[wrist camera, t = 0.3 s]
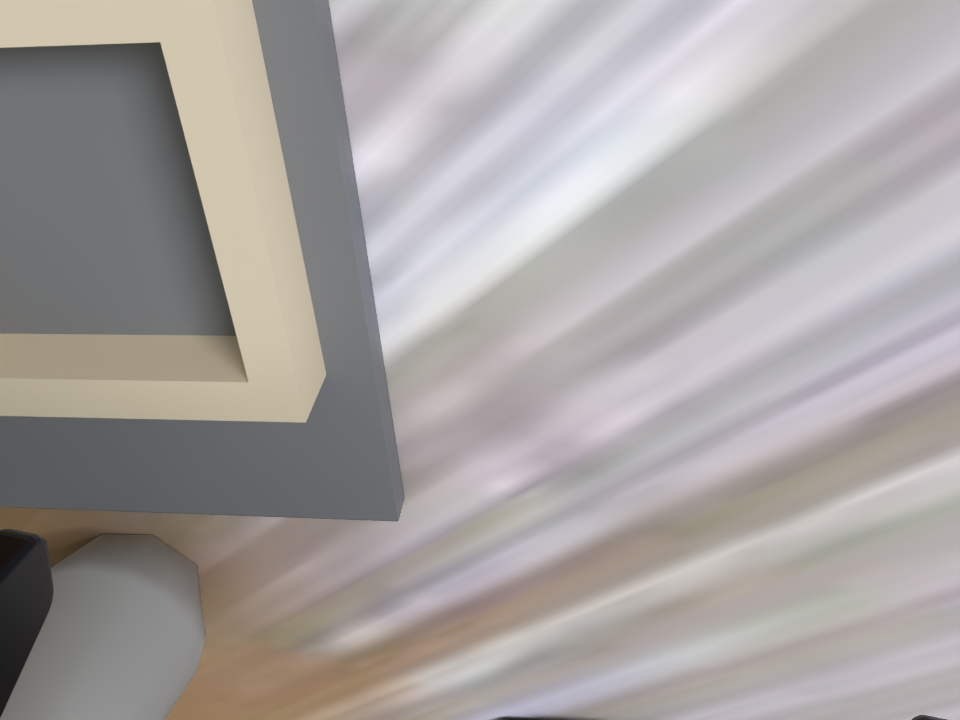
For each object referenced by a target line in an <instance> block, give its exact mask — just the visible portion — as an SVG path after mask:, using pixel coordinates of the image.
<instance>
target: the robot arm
mask: <svg viewBox="0 0 960 720" xmlns="http://www.w3.org/2000/svg"><path fill="white" fill-rule="evenodd" d="M53 594H54V585H53V579H52V573H51V566H50V560H49V554H48V547H47V543H46V541H45V540H44V538H43V537H42V536H40V535H37V534H33V533H28V532H23V531H18V530H13V529H3V530H0V718H1V716H2V714H3V711H4V709H5V707H6V705H7V703H8V700H9V698H10V696H11V694H12V692H13V690H14V687H15V685H16V683H17V681H18V679H19V676H20V674H21V672H22V670H23V668H24V665H25V663H26V661H27V659H28V657H29V654H30V652H31V650H32V648H33V646H34V643H35V641H36V639H37V637H38V635H39V632H40V630H41V628H42V626H43V624H44V622H45V619H46V617H47V615H48V613H49V610H50V607H51V604H52V600H53ZM912 720H946V719H941V718H937V717H932V716H927V715H919V716H917V717H914V718H913V719H912Z"/></svg>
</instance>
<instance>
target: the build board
mask: <svg viewBox="0 0 960 720" xmlns="http://www.w3.org/2000/svg"><path fill="white" fill-rule="evenodd" d="M403 501H404V492H403V485H402V479H401V472H400V466H399V459H398V453H397V446H396V439H395V433H394V426H393V420H392V413H391V407H390V400H389V394H388V387H387V381H386V374H385V368H384V361H383V354H382V348H381V341H380V335H379V328H378V322H377V315H376V309H375V302H374V296H373V289H372V283H371V276H370V270H369V263H368V256H367V250H366V243H365V237H364V230H363V224H362V217H361V211H360V204H359V198H358V191H357V185H356V178H355V171H354V165H353V158H352V152H351V145H350V139H349V132H348V126H347V119H346V113H345V106H344V100H343V93H342V86H341V80H340V73H339V67H338V60H337V54H336V47H335V41H334V34H333V28H332V21H331V15H330V8H329V1H328V0H0V507H17V508H44V509H72V510H100V511H127V512H155V513H182V514H210V515H238V516H265V517H293V518H320V519H348V520H375V521H398V520H399V516H400V513H401V509H402V505H403Z"/></svg>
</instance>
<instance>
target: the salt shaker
mask: <svg viewBox="0 0 960 720" xmlns="http://www.w3.org/2000/svg"><path fill="white" fill-rule="evenodd" d="M51 573H52V579H53V585H54V594H53V600H52V604H51V607H50V610H49V613H48V615H47V617H46V619H45V622H44V624H43V626H42V628H41V630H40V632H39V635H38V637H37V639H36V641H35V643H34V646H33V648H32V650H31V652H30V654H29V657H28V659H27V661H26V663H25V665H24V668H23V670H22V672H21V674H20V676H19V679H18V681H17V683H16V685H15V687H14V690H13V692H12V694H11V696H10V698H9V700H8V703H7V705H6V707H5V709H4V711H3V714H2V716H1V718H0V720H164V719H165V718H166V716H167V715H168V713H169V712H170V710H171V709H172V707H173V706H174V704H175V703H176V701H177V700H178V698H179V697H180V695H181V694H182V692H183V691H184V690H185V688H186V687H187V685H188V684H189V682H190V681H191V679H192V678H193V676H194V675H195V673H196V671H197V668H198V664H199V660H200V657H201V653H202V649H203V645H204V641H205V637H206V630H205V623H204V616H203V609H202V602H201V595H200V588H199V580H198V568H197V565H196V564H194V563H193V562H191V561H190V560H189V559H187V558H186V557H184V556H183V555H181V554H180V553H178V552H177V551H176V550H174V549H173V548H171V547H170V546H168V545H167V544H165V543H164V542H162V541H161V540H160V539H158V538H157V537H155V536H154V535H121V534H101V535H100V536H98V537H97V538H95V539H94V540H92V541H91V542H89V543H88V544H86V545H85V546H83V547H82V548H80V549H78V550H77V551H75V552H74V553H72V554H71V555H69V556H68V557H66V558H65V559H63V560H62V561H60V562H59V563H57V564H56V565H55V566H54V567H52V568H51Z"/></svg>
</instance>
